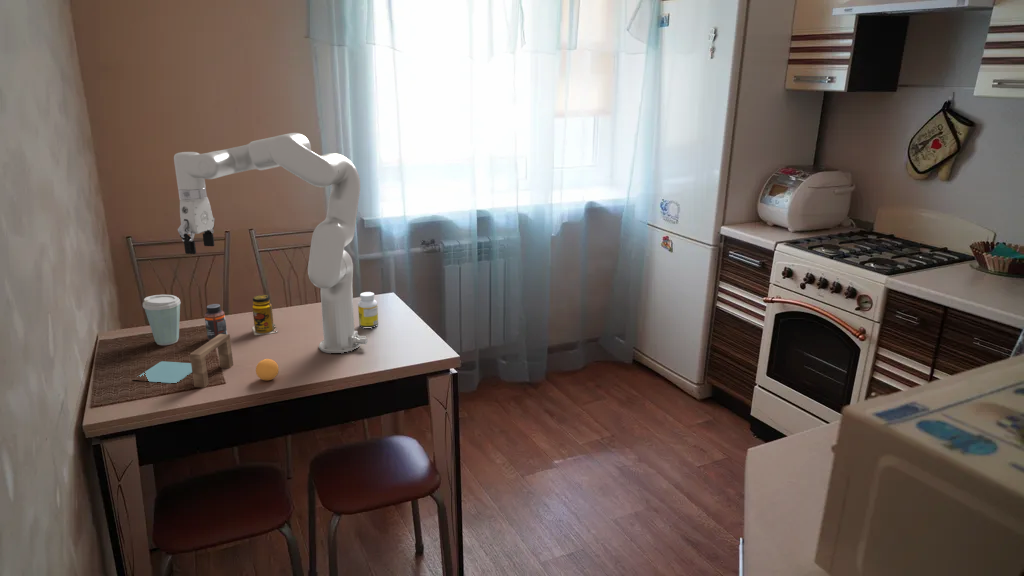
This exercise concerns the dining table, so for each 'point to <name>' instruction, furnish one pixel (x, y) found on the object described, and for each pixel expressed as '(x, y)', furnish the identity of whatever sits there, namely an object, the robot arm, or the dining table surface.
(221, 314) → the supplement bottle
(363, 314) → the pill bottle
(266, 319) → the condiment
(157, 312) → the disposable coffee cup
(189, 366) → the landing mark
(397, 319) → the dining table surface
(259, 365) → the ball
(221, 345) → the bridge
